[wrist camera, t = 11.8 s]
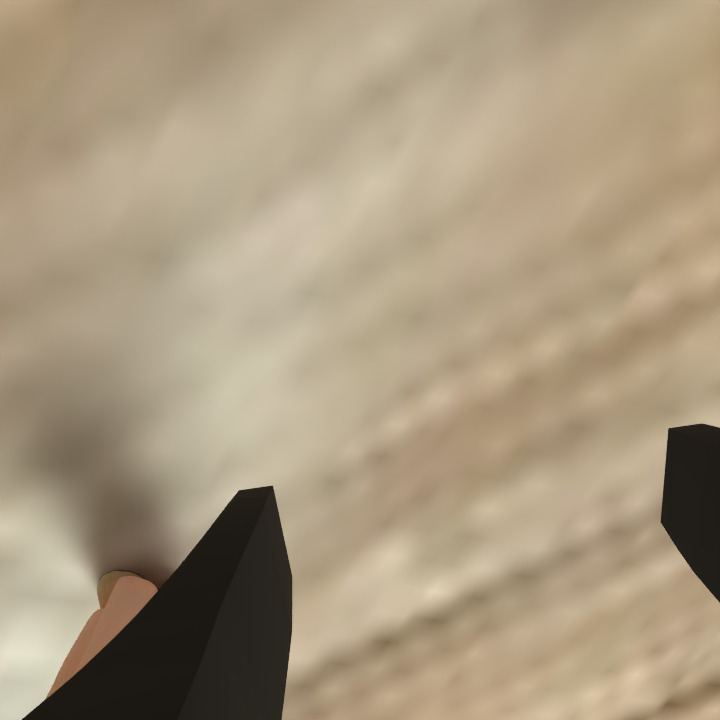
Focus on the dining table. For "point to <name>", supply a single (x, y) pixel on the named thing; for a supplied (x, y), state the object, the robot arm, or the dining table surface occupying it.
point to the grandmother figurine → (106, 619)
